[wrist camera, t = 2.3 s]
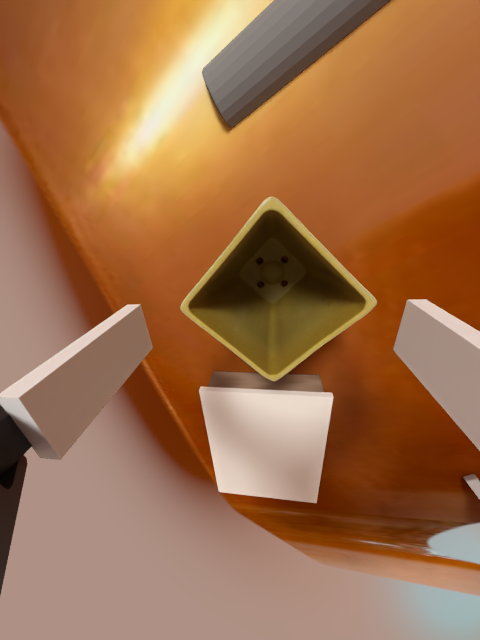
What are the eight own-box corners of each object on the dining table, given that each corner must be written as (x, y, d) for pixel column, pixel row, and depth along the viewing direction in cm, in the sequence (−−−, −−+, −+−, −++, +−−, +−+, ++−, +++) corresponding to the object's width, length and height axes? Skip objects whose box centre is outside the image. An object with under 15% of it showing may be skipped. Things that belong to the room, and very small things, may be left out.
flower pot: (272, 196, 19) (271, 190, 11) (340, 267, 21) (382, 305, 13) (210, 272, 23) (176, 308, 15) (273, 326, 24) (272, 385, 16)
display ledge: (325, 371, 26) (333, 397, 23) (312, 473, 35) (316, 503, 31) (208, 367, 28) (199, 390, 25) (224, 464, 37) (218, 491, 34)
